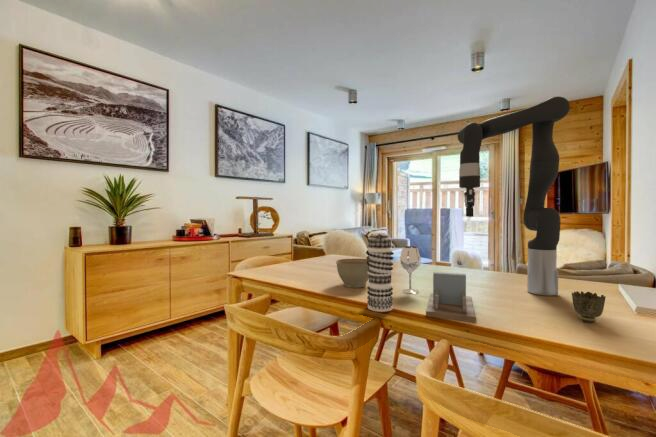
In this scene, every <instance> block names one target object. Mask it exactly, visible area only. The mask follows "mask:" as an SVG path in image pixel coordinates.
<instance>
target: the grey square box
mask: <svg viewBox="0 0 656 437" xmlns="http://www.w3.org/2000/svg"><path fill="white" fill-rule="evenodd" d="M432 277H433V279H432V283H433V285H432V286H433V288H432V289H433V291H432V293H433V303H435V295H436V290H438V291H439V303H440V304H450V305H460V306H462V293H466V294H467V275H466V273H457V272H456V273H455V272H454V273H453V272H441V271H440V272H439V271H433V273H432Z"/></svg>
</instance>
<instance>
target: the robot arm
mask: <svg viewBox="0 0 656 437" xmlns="http://www.w3.org/2000/svg"><path fill="white" fill-rule="evenodd" d="M570 110H571V103H570V101H569V100H568V99H567V98H566V97H564V96H560V95H559V96H552V97H550V98H547V99H545V100H543V101H542V102H540V103H538V104H535V105H533V106H532V105H531V106H530V107H527V108H524V109H521V110H518V111H514V112H509V113H505V114H503V115H499V116H495V117H491V118H489V119H486V120H484V121H481V122H480V123H477V122H470V123H468V124H467V125H464V127H462V128H461V129H459V131H458V133H457V140H458V142H459V143H460V144H462V149H461V151H460V152H459V169H458V171H459V172H458V174H459V175H458V177H459V178H458V179H459V181H458V182H459V184H458V186H459V188H460V189H465V192H463V197H464V206H465V216H466V217H468V218H470V217H471V218H472V217H474V207H475V202H476V191H475V189H477V188H480V187H481V166H480V163H481V162H480V159H481V158H480V150H481V147H482V142H483V140H485V139H488V138H493V137H497V136H501V135H503V134H506V133H510V132H513V131H515V130H518V129H521V128H523V127H526V126H529V125H531V127H532V128H531V131H532V142H531V155H530V162H529V179H528V186H527V188H528V189H527V195H526V201H525V206H524V209H523V210H524V211H523V216H522V221H523V225H524V226H525V228H526V229H528V230H529V231H534V232H536V235H535V237H534V238H532V239H531V240H528V242H527V279H526V280H527V281H526V282H527V292H529V293H531V294H533V295H539V296H549V297H550V296H559V270H558V269H557V263H558V262H557V260H558V259H557V258H558V257H557V252H558V251H557V250H558V244H559V242H560V239H561V238H560V237H561V217H560V216H561V215H560V213H559V211H558V210H557V209H555V208H553V207H545V204H546V203H545V202H546V197H547V194H548V193H549V190H550V189H551V187H552V186H553V184H554V183H555V181H556V179H557V177H558V174H559V168H560V155H559V154H560V153H559V151H558V148H557V147H556V145H555V143H554V138H553V134H554V132H553V130H554V125H555V123H556V122H559V121H561V120H562V119H565V117H566V116H567V115H568V113H569V112H570Z"/></svg>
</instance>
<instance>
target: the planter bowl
mask: <svg viewBox="0 0 656 437" xmlns="http://www.w3.org/2000/svg"><path fill="white" fill-rule="evenodd" d="M367 261H368V260H367V259H366V258H342V259H338V260H336V262H335V263H336V270H337V274H338V276H339V278H340V280H341V281H342V283H343V286H344V287H347V288H357V289H358V288H362V287H363V288H364V287H365V286H366V285H367V283H368V281H369V274H368V273H367V272H368V270H367V267H369V266H368V265H367Z"/></svg>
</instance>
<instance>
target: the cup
mask: <svg viewBox="0 0 656 437" xmlns="http://www.w3.org/2000/svg"><path fill="white" fill-rule="evenodd" d="M606 297H607V296H605V295H604V294H601V295H600V296H599V295H598V294H597V293H596V292H594V293H593V292H590V291H586V292H584V291H578V290H574V292H573V291H571V298H572V299H571V300H572V305H573V306H572V307H573V308H574V311H575V312H576V314H578V315H579V319H580V321H582V322H584V323H589V324H592V323H596V322H597V318H598V317H600V316H602V314H603V312H604V307H605V302H606Z"/></svg>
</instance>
